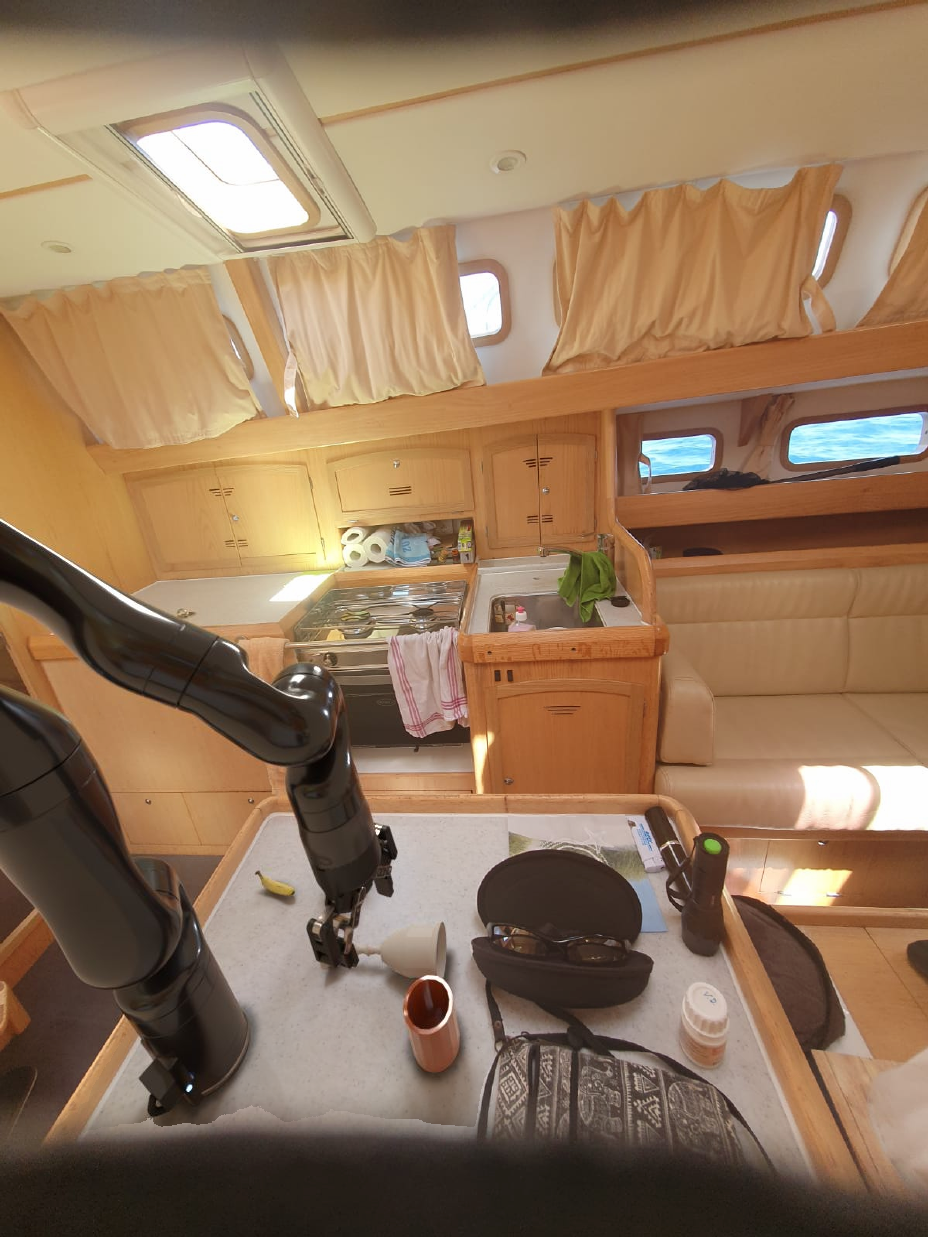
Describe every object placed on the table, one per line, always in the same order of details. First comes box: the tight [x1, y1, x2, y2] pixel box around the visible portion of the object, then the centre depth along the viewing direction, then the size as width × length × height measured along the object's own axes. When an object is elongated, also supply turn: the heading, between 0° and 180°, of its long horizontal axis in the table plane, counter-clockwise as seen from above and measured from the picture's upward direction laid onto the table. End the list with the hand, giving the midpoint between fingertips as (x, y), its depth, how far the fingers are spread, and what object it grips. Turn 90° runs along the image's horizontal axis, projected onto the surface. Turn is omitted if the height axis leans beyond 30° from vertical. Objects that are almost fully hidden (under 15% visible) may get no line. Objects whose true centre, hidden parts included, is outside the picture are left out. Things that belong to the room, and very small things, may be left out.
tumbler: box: [402, 975, 461, 1073], centre depth 58 cm, size 6×6×9 cm
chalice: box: [319, 921, 448, 979], centre depth 68 cm, size 7×7×18 cm
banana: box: [254, 870, 296, 897], centre depth 80 cm, size 8×2×4 cm, turn 69°
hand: (369, 926), depth 56 cm, fingers open, 8 cm apart
